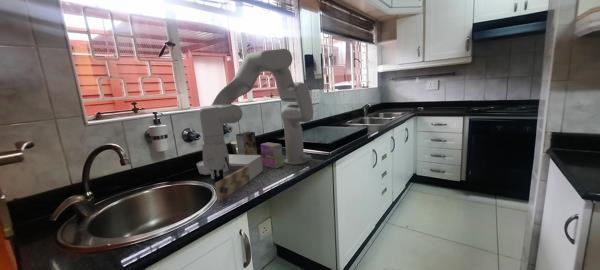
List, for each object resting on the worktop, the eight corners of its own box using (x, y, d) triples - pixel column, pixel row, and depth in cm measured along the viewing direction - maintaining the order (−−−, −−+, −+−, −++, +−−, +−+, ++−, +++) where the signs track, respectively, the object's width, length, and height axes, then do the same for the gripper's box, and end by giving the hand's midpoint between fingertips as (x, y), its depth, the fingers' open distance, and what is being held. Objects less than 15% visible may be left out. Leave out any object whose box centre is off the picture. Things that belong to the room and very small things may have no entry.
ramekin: (201, 169, 136) (200, 159, 135) (222, 167, 137) (221, 158, 136) (194, 176, 125) (193, 166, 124) (217, 174, 126) (216, 164, 125)
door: (247, 180, 113) (246, 165, 112) (253, 181, 112) (251, 166, 111) (217, 200, 95) (215, 183, 94) (223, 201, 94) (221, 183, 93)
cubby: (262, 170, 127) (261, 155, 126) (249, 181, 114) (247, 164, 113) (228, 169, 133) (226, 154, 132) (211, 178, 120) (209, 162, 119)
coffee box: (250, 157, 153) (247, 131, 150) (258, 158, 149) (255, 131, 146) (238, 161, 146) (235, 134, 142) (246, 163, 142) (242, 134, 139)
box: (262, 165, 136) (260, 144, 133) (270, 162, 140) (268, 141, 137) (275, 169, 129) (273, 146, 126) (283, 165, 133) (281, 144, 130)
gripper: (192, 140, 97) (199, 185, 100) (219, 142, 89) (225, 191, 93) (208, 136, 103) (214, 178, 107) (235, 138, 95) (240, 184, 99)
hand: (219, 184), depth 100 cm, fingers closed
